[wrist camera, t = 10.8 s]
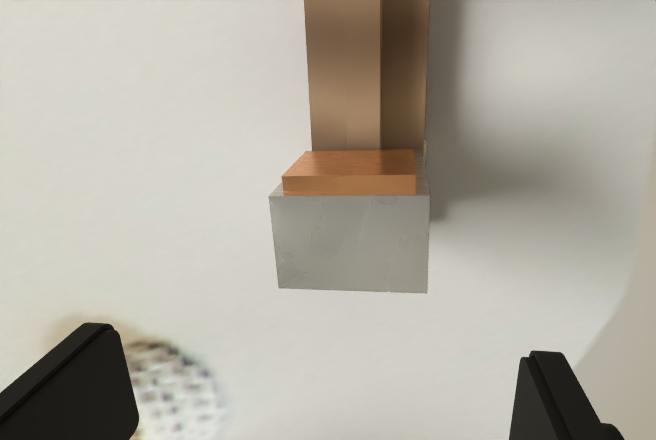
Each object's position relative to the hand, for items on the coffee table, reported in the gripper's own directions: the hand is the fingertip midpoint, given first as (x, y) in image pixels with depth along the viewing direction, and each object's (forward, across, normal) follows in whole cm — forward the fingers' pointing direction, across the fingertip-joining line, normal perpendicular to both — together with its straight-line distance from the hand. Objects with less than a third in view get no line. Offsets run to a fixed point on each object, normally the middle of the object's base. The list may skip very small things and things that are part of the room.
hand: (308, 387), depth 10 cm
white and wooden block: (+15, 0, 0) cm, 15 cm away
